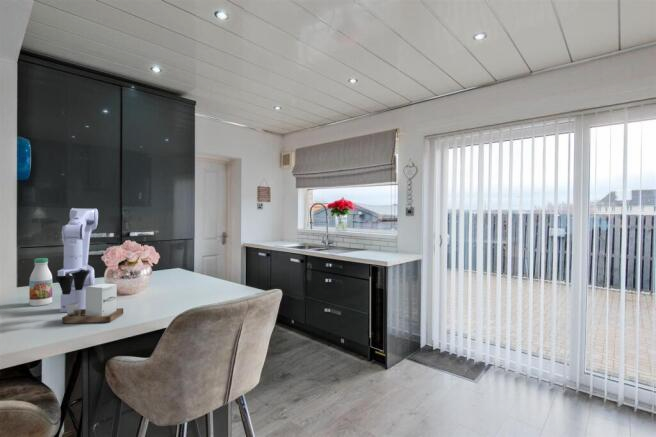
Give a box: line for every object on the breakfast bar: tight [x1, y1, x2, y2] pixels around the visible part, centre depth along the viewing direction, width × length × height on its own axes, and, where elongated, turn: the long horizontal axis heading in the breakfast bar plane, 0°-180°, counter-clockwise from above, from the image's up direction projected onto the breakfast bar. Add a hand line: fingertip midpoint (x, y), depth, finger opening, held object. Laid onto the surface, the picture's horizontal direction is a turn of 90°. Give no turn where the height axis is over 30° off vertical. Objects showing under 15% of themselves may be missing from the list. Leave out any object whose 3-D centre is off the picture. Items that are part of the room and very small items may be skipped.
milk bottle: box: [28, 257, 53, 307], centre depth 149 cm, size 8×8×20 cm
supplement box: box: [84, 283, 118, 316], centre depth 130 cm, size 7×7×13 cm
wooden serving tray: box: [61, 303, 124, 324], centre depth 130 cm, size 17×11×6 cm, turn 98°
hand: (72, 292), depth 129 cm, fingers open, 7 cm apart
